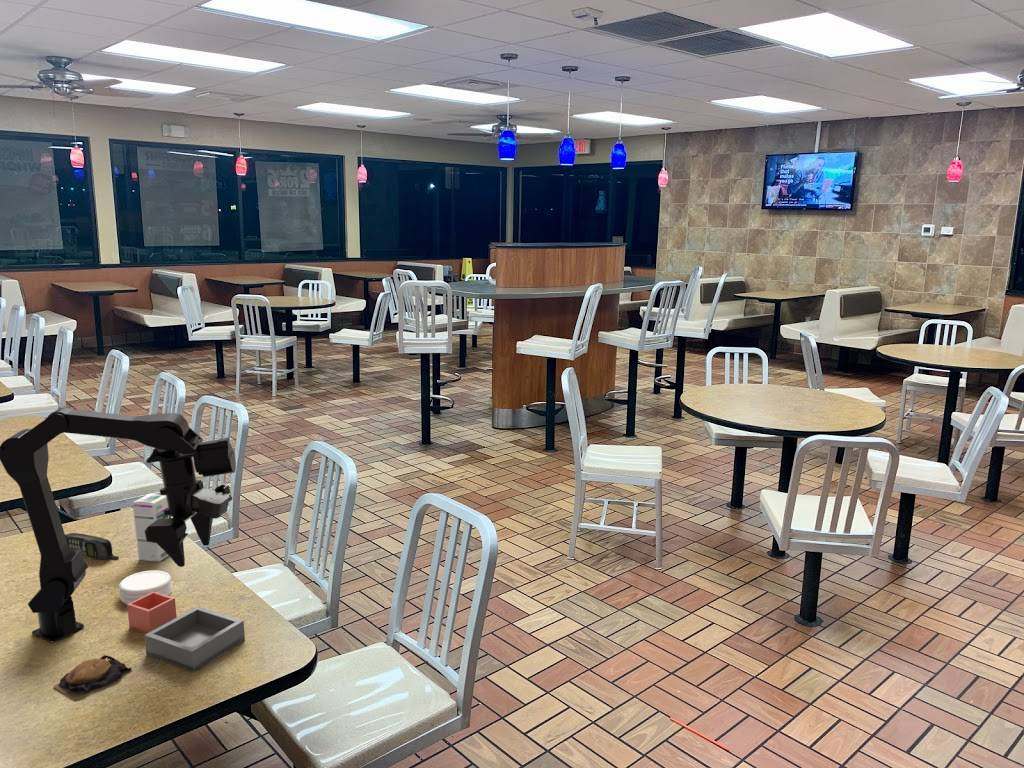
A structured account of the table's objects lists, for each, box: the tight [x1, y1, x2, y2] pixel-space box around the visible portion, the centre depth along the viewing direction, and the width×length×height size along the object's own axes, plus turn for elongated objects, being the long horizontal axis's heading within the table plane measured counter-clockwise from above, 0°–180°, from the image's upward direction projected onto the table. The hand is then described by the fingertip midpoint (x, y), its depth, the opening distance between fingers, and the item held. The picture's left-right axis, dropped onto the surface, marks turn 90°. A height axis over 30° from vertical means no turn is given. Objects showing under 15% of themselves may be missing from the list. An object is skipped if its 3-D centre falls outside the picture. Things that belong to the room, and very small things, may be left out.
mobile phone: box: [65, 532, 119, 560], centre depth 180 cm, size 5×3×15 cm
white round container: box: [118, 569, 173, 605], centre depth 162 cm, size 10×10×4 cm
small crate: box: [126, 591, 178, 635], centre depth 150 cm, size 6×6×5 cm
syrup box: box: [132, 493, 173, 563], centre depth 179 cm, size 6×6×14 cm
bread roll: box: [52, 654, 134, 702], centre depth 132 cm, size 11×8×4 cm
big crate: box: [144, 606, 246, 673], centre depth 142 cm, size 12×12×4 cm
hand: (194, 555), depth 150 cm, fingers open, 9 cm apart
